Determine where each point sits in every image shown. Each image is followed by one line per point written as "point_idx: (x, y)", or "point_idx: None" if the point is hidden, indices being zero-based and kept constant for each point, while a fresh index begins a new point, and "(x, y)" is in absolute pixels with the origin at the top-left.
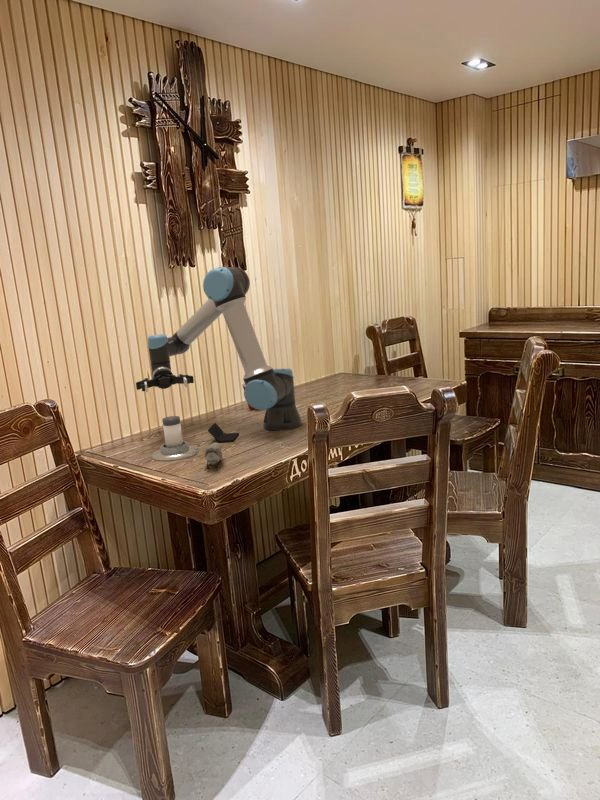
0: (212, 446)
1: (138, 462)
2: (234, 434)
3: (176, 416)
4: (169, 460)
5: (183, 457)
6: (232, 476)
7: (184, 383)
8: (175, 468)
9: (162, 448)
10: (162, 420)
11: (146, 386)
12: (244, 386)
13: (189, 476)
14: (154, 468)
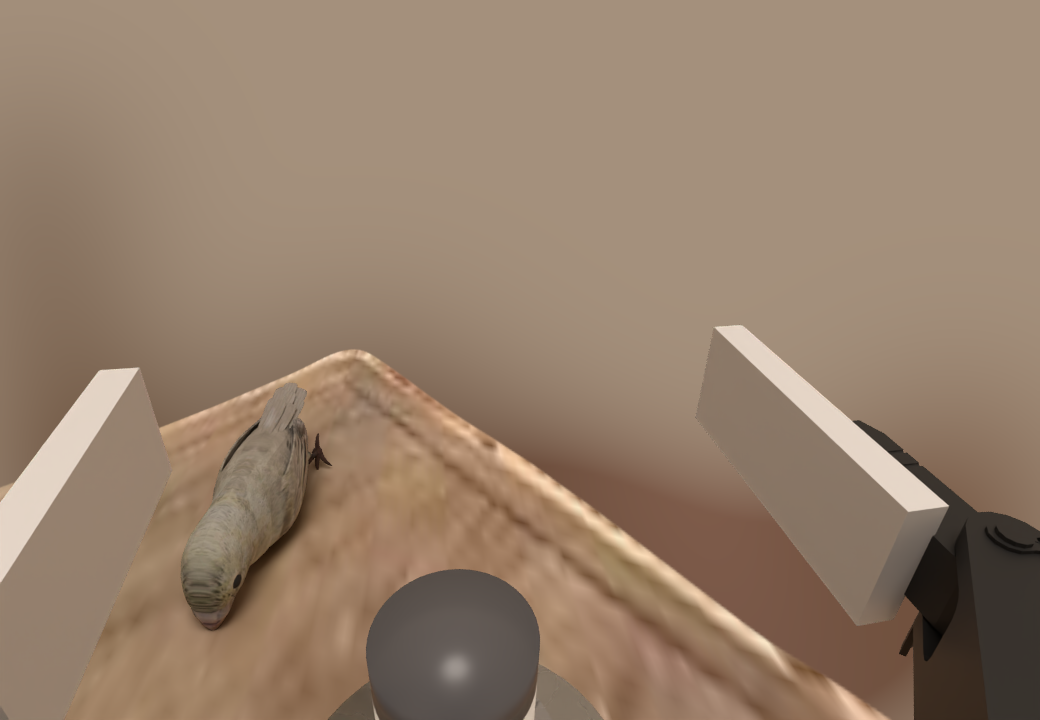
0: (258, 440)
1: (689, 702)
2: None
3: (397, 687)
4: None
5: None
6: (255, 409)
7: (106, 554)
8: (449, 534)
9: (541, 704)
10: (533, 620)
11: (717, 352)
12: None
13: (394, 443)
14: (553, 564)
